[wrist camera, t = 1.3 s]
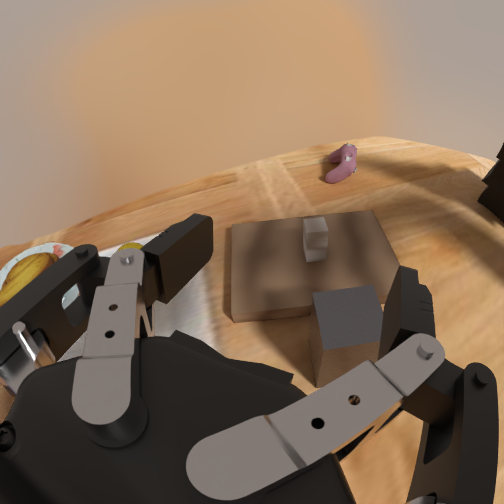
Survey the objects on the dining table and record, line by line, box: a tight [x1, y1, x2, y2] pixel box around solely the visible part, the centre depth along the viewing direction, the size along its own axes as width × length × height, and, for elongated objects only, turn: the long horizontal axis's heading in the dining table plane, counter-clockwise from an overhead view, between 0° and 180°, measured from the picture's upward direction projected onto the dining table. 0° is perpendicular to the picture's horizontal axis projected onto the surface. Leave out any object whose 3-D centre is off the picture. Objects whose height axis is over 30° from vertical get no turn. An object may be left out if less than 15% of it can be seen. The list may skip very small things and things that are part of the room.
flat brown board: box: [231, 210, 400, 323], centre depth 39 cm, size 22×16×7 cm
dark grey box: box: [309, 285, 383, 388], centre depth 27 cm, size 6×6×9 cm
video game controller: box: [325, 143, 357, 183], centre depth 55 cm, size 10×5×7 cm, turn 164°
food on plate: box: [0, 242, 80, 309], centre depth 40 cm, size 25×25×7 cm
